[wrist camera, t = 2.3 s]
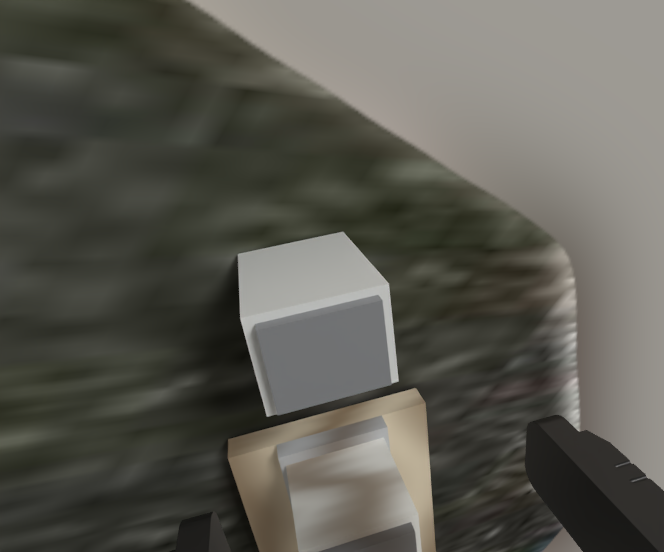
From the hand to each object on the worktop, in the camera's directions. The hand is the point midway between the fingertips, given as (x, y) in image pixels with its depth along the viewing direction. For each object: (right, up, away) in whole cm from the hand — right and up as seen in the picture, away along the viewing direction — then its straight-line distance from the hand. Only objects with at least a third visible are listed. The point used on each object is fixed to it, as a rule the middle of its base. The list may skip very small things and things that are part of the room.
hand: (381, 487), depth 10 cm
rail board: (0, -11, +19) cm, 22 cm away
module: (-3, +5, +12) cm, 13 cm away
